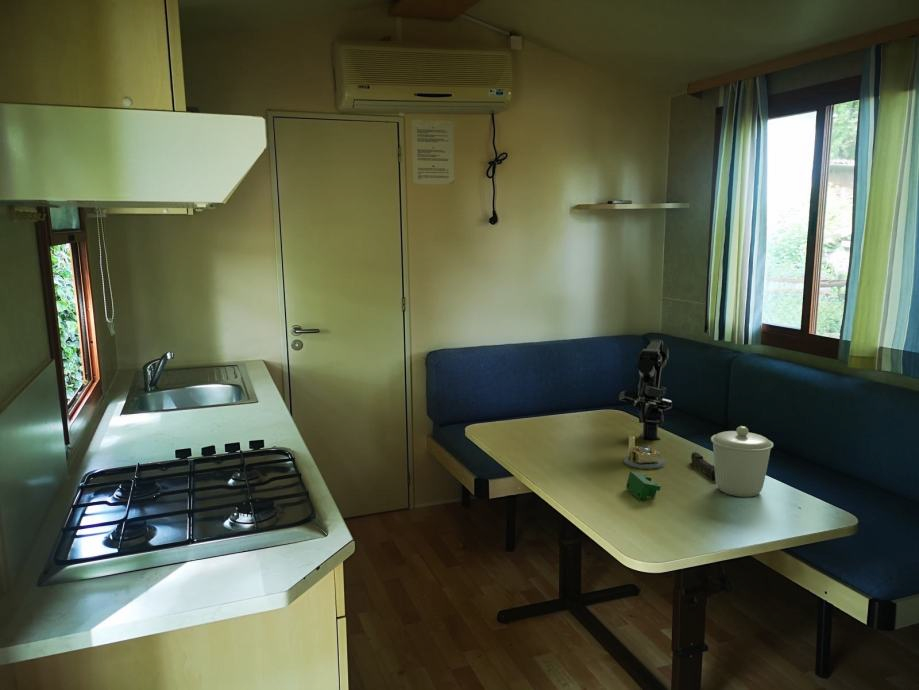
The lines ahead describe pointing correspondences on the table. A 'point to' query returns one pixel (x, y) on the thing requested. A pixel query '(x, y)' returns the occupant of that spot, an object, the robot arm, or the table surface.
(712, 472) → the dark brown log
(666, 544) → the table surface
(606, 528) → the table surface
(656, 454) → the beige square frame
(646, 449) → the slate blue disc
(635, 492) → the green mounting bracket
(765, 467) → the canister
